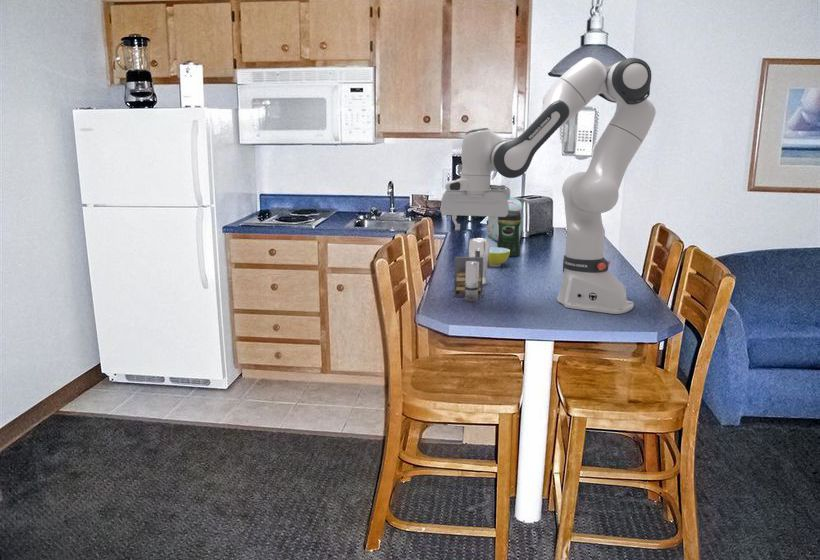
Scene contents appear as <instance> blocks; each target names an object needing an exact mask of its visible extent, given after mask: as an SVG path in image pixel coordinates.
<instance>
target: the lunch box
mask: <svg viewBox="0 0 820 560" xmlns="http://www.w3.org/2000/svg"><path fill="white" fill-rule="evenodd" d="M508 211H519V212H520V215H521V223H520V226H519V242H520V241H521V235H522V229H523V228H522V227H523V226H522V225H523V204H522V202H521V200H519V199H518V198H515V197H513V196H510V198H509V200H508ZM497 219H498V217H496V221H495V222H494V224H493V225H492V231H491V232H490V231H487V236H488V237H489V238H490V239H492V240H493V241H496V242H498V233H499V225H498V221H497ZM491 222H492V220H491V216H487V220H486V226H487V225H490V223H491Z"/></svg>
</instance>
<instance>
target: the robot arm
mask: <svg viewBox="0 0 820 560" xmlns="http://www.w3.org/2000/svg"><path fill="white" fill-rule="evenodd" d="M651 84H652V69H651V67H650V65H649V64H648V62H646V61H645V60H643V59H641V58H637V57H629V58H625V59H622V60H620V61H618V62H616V63H613V64H612V65H610V66H606V65H605V64H604V63H602V62H601V61H600V60H598V59H597V58H594V57H591V56H588V57H584V58H582V59H581V60H579V61H578V62H576V63H575V64H573V65H572V66H571V67H570V68H569V69H567V70H566V71H565V72H564V73H563V74H562V75H561V76H560V77H559V78H558V79H557V80H556V81H555V82H554V83H553V84H552V85H551V86H550V87H549V89H548V90H547V91H546V93H545V94H544V95H543V99H542V108H541V111H540V113H539V114H538V116H537V117H536V118H535V119H534V120H533V121H532V122H531V124H530V125H528V127H527V128H526V129H525V130H523V132H522V133H521V134H520V135H519V136H517V137H516V138H514V139H512V140H509V139H507V138H504V137H503V136H500V135H498V134H497V133H495V132H494V131H492V130H491V128H488V127H483V128H474V129H471V130H468V131H467V132H466V133H465V134H464V136H463V139H462V144H461V145H462V146H461V157H460V158H461V164H462V166H461V167H462V168H461V170H460V178H456V179H454V180H449V181H447V182H446V183H445V191H444V192H443V194H442V197H441V201H440V214H441V215H443V216H451V221H452V222H453V223H454V226H455V228H454V231H461V223H458V222H457V217H458V216H463V217H465V216H467V217H488V216H491V220H492V222H491V223H490V225H487V224H486V232H488V231H490V232H491V231H492V225H493V224H494V222H495V221H496V217H506V216H507V215H508V200H509V198H510V197H511V189H510V188H509V187H508V186H506V185H502V184H501V185H499V184H498V185H497V184H491V174H492V172H497V173H498V174H499V175H501V176H502V177H504V178H506V179H515V178H518V177H521V176H522V175H524V174H526V172H527V171H528V169H529V167H530V165H531V164H532V163H531V162H532V160H533V158H534V155H535V154H536V153H537V151H538V150H540V148H541V147H542V146H543V145H544V144H545V143H546V142H547V140H549V138H551V136H552V135H554V133H556V131H557V130H558V129H559V128H560V127H562V126H563V125H564V124H565V123H566V122H569V121H570V120H571V119H572V118H574V117H575V116H576V115H577V114H579V113H580V112H581V111H582V110H583V109H584V108H585V107H586V106H587V105H588V104H589V103H590V102H591V101H592V100H593V99H594V98H596V97H597V96H599V97H600V98H602V99H604V100H606V101H607V102H610V103H614V104H616V106H615V107H616V109H615V112H614V114H613V116H612V118H611V120H610V121H609V123H608V124H607V126H606V128H605V129H604V131H603V132H602V134H601V135H600V137H599V139H598V140H597V143H596V144H595V145H594V147H593V151H592V157H591V159H590V162H589V165H588V168H587V169H586V171H581V172H580V171H578V172H575V173H574V174H573V173H572V175H569V176H567V178H566V179H565V180H564V182H563V183H562V188H561V191H562V196H563V200H564V213H565V221H566V222H565V223H566V224H565V225H566V237H565V238H566V240H565V254H564V255H563V259H562V274H563V275H562V280H561V285H560V289H559V292H558V296H557V298H556V301H557V302H558V303H560V304H562V305H563V306H564V307H565V308H568V309H573V310H583V311H590V312H596V313H604V314H613V315H619V314H625V313H627V312H630V311H631V310H632V309H634V306H635V305H634V302H633V301H632V300H631V301H630V300H627V289H626V286H625V285H624V283H622V282H621V281H620V280H619V279H618V278H617V277H615V276H614V274H613V273H611V272H610V271H609V265H611V260H607V259H606V258H605V257H604V249H605V247H604V246H605V236H606V235H605V234H606V231H605V228H604V224H603V220H602V214H603V213H607V212H609V211H611V210H612V209H614V207H615V206H616V204H617V203H618V202H619V201H618V200H619V196H620V194H619V189H620V187H621V185H622V181H623V179H624V176H625V173H626V171H627V169H628V166H629V165H630V163H631V162H632V159H634V157H635V155H636V153H637V152H638V150H639V148H640V147H641V145H642V143H643V142H644V141H645V138H646V137H647V136H648V133H649V131H650V130H651V126H652V125H653V121H654V119H655V117H656V113H657V111H656V108H655V106H654V104H653V103H652V102H651V101H650V100H648V98H649V97H650V94H651Z"/></svg>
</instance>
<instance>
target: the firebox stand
mask: <svg viewBox="0 0 820 560" xmlns="http://www.w3.org/2000/svg"><path fill="white" fill-rule="evenodd" d="M466 261H478V262H479V280H478V299H483V296H484V291H483V285H482V277H483V257H469V256H455V257H454V280H453V281H454V283H453V284H454V286H453V287H454V289H453V297H454V298H465V276H466Z"/></svg>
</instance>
